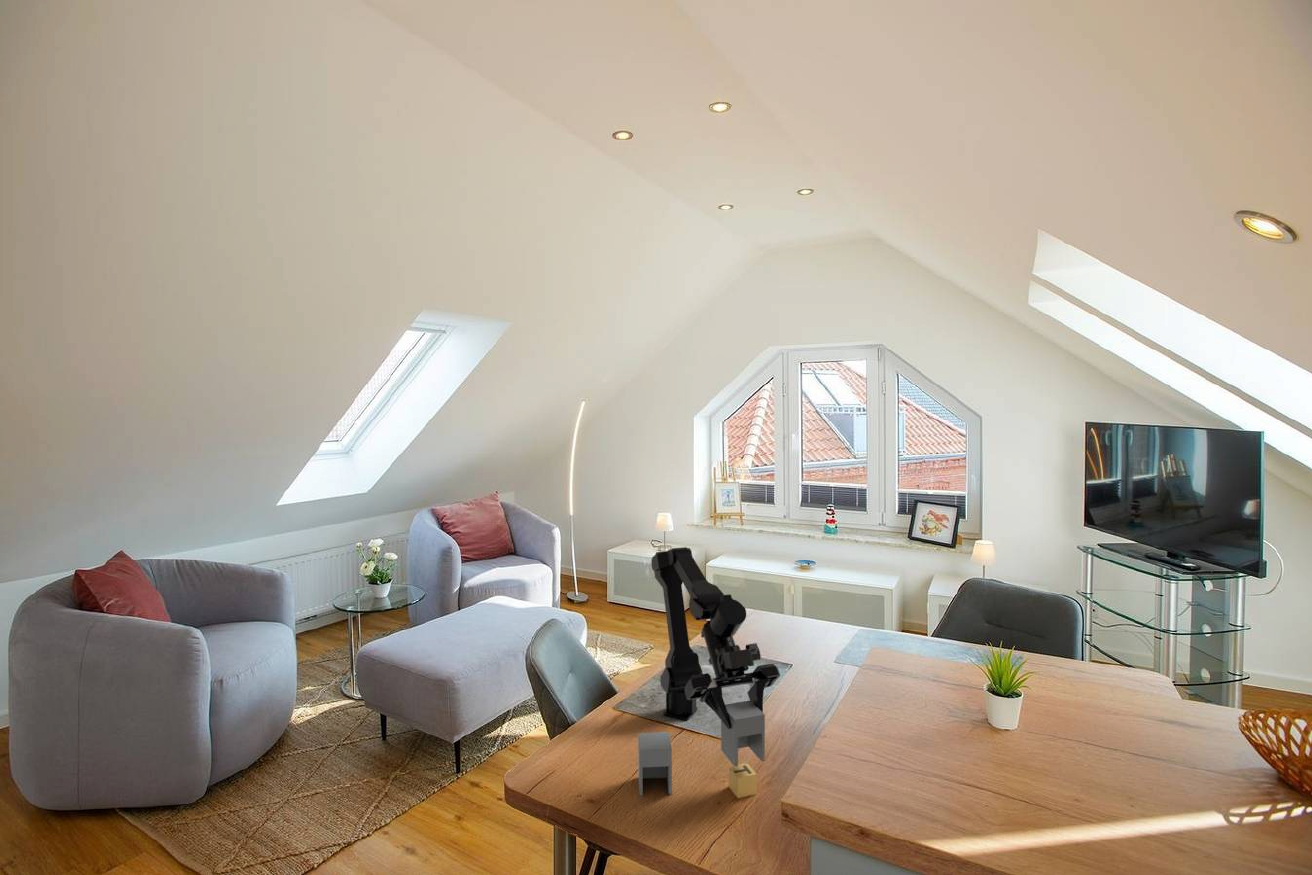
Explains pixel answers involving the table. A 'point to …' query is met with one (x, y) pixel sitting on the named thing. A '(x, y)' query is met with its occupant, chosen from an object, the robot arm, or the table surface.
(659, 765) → the slate cover
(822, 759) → the table surface
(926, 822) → the table surface
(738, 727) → the charcoal cover
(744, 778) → the ochre cube
